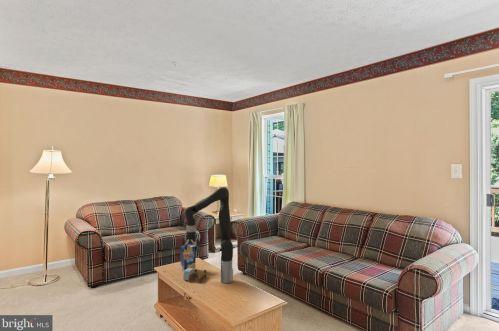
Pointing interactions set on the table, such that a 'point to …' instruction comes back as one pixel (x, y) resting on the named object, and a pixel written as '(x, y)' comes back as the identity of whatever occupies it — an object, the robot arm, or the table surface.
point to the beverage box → (188, 257)
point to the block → (188, 273)
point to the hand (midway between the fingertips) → (191, 250)
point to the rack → (199, 277)
